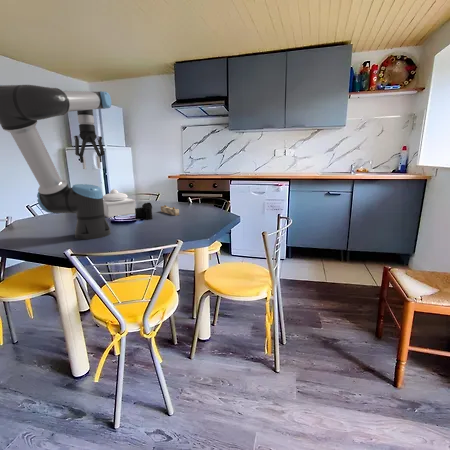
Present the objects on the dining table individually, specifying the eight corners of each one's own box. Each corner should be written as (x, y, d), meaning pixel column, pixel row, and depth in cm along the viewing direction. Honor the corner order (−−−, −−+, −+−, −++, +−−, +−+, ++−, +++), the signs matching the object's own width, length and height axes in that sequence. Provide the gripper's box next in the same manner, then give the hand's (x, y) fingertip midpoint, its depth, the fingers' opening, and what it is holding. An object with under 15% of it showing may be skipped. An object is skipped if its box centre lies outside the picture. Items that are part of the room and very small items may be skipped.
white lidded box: (125, 210, 192) (123, 186, 188) (136, 213, 179) (134, 188, 175) (99, 213, 181) (96, 188, 177) (108, 218, 168) (105, 191, 164)
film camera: (135, 215, 172) (134, 201, 170) (152, 214, 175) (151, 200, 173) (135, 221, 158) (134, 205, 156) (153, 219, 161) (152, 204, 159)
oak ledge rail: (179, 215, 173) (178, 207, 171) (175, 215, 171) (175, 208, 170) (164, 211, 186) (163, 204, 185) (161, 211, 184) (160, 204, 183)
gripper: (103, 126, 157) (108, 167, 163) (64, 123, 145) (70, 169, 150) (108, 124, 152) (112, 168, 157) (67, 122, 139) (74, 169, 145)
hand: (92, 168), depth 154 cm, fingers open, 7 cm apart
